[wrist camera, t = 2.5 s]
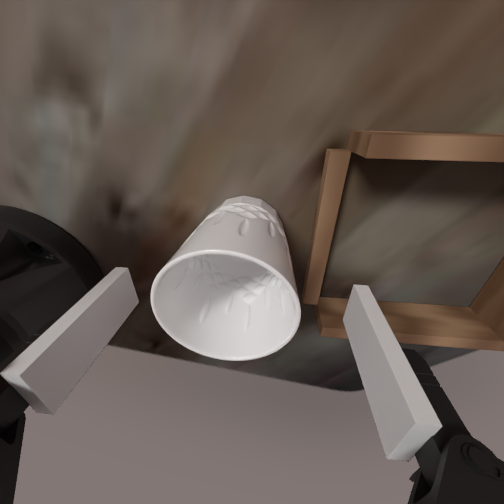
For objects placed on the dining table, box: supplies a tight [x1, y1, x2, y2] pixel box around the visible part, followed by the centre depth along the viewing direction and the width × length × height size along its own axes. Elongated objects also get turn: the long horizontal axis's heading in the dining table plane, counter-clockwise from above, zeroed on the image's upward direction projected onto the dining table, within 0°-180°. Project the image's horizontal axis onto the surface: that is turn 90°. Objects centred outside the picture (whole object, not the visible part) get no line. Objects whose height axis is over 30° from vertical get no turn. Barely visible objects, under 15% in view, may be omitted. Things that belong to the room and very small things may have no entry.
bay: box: [302, 130, 504, 351], centre depth 18 cm, size 18×16×4 cm
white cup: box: [150, 196, 301, 361], centre depth 16 cm, size 8×8×10 cm
